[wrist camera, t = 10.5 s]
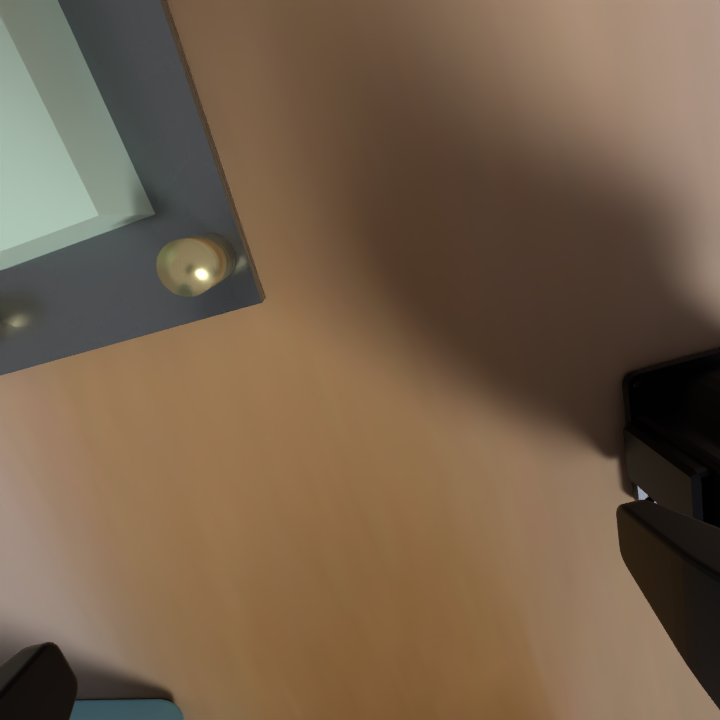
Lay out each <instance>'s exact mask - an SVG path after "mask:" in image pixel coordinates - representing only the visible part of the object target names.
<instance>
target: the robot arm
mask: <svg viewBox="0 0 720 720" xmlns="http://www.w3.org/2000/svg"><path fill="white" fill-rule="evenodd" d="M639 379H640V384H639V385H638V386H637V387H635V388H634V384H635V383H636V381H638V380H639ZM622 387H623V397H624V407H625V417H626V424H625V426H624V428H623V432H624V442H625V452H626V461H627V471H628V477H629V479H630V480H631V481H632V486H633V496H634V500H635V501H633V502H629V503H625V504H621V505H620V506H618V508H617V511H616V517H617V527H618V537H619V546H620V552H621V555H622V558H623V560H624V562H625V564H626V566H627V568H628V570H629V571H630V573H631V575H632V576H633V578H634V579H635V581H636V583H637V584H638V586H639V588H640V589H641V591H642V593H643V594H644V596H645V598H646V599H647V601H648V602H649V604H650V606H651V607H652V609H653V611H654V612H655V614H656V616H657V617H658V619H659V621H660V622H661V624H662V625H663V627H664V629H665V630H666V632H667V634H668V635H669V637H670V639H671V640H672V642H673V644H674V645H675V647H676V648H677V650H678V652H679V653H680V655H681V656H682V658H683V659H684V661H685V663H686V664H687V666H688V667H689V668H690V670H691V671H692V673H693V674H694V676H695V677H696V678H697V680H698V681H699V683H700V684H701V685H702V687H703V688H704V689H705V691H706V692H707V693H708V695H709V696H710V697H711V699H712V700H713V701H714V703H715V704H716V706H717V707H718V708H719V710H720V347H719V348H715V349H711V350H708V351H704V352H700V353H697V354H693V355H689V356H685V357H682V358H678V359H674V360H671V361H667V362H663V363H660V364H656V365H652V366H648V367H645V368H641V369H637V370H634V371H631V372H629V373H628V374H627V375H626V376H625V377H624V379H623V383H622ZM647 496H649V497H648V498H646V497H647ZM645 498H646V499H645ZM77 690H78V683H77V678H76V676H75V674H74V673H73V671H72V669H71V667H70V666H69V664H68V662H67V661H66V659H65V657H64V655H63V654H62V652H61V650H60V649H59V647H58V646H57V645H56V644H54V643H52V642H46V643H42V644H38V645H34V646H30V647H27V648H25V649H23V650H21V651H20V652H18V653H17V654H16V655H15V656H14V657H12V658H11V659H10V660H9V661H7V662H6V663H5V664H4V665H2V666H1V667H0V720H70V716H71V713H72V710H73V706H74V703H75V700H76V696H77Z"/></svg>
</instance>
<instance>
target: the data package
mask: <svg viewBox="0 0 720 720" xmlns="http://www.w3.org/2000/svg"><path fill="white" fill-rule="evenodd" d="M70 720H184V716H183V714H182V712H181V710H180V709H179V708H178V706H176V705H175V704H174V703H172V702H170V701H167V700H163V699H131V700H75V703H74V706H73V710H72V713H71V716H70Z"/></svg>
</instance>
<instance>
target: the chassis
mask: <svg viewBox="0 0 720 720" xmlns="http://www.w3.org/2000/svg"><path fill="white" fill-rule="evenodd" d="M58 2H59V4H60V6H61V9H62V11H63V13H64V15H65V17H66V19H67V22H68V24H69V26H70V28H71V30H72V33H73V35H74V37H75V39H76V41H77V44H78V46H79V48H80V50H81V52H82V55H83V57H84V59H85V61H86V63H87V66H88V68H89V70H90V72H91V74H92V76H93V79H94V81H95V83H96V85H97V87H98V90H99V92H100V94H101V96H102V98H103V101H104V103H105V105H106V107H107V109H108V112H109V114H110V116H111V118H112V120H113V123H114V125H115V127H116V129H117V131H118V133H119V136H120V138H121V140H122V142H123V144H124V147H125V149H126V151H127V153H128V155H129V158H130V160H131V162H132V164H133V166H134V169H135V171H136V173H137V175H138V177H139V180H140V182H141V184H142V186H143V188H144V190H145V193H146V195H147V197H148V199H149V201H150V204H151V206H152V208H153V210H154V212H155V215H152V216H149V217H146V218H144V219H141V220H138V221H135V222H133V223H130V224H127V225H124V226H122V227H119V228H116V229H113V230H111V231H108V232H105V233H102V234H100V235H97V236H94V237H91V238H89V239H86V240H83V241H81V242H78V243H75V244H72V245H70V246H67V247H64V248H61V249H59V250H56V251H53V252H50V253H48V254H45V255H42V256H39V257H37V258H34V259H31V260H28V261H26V262H23V263H20V264H17V265H15V266H12V267H9V268H6V269H4V270H0V375H4V374H7V373H11V372H14V371H18V370H22V369H25V368H29V367H32V366H36V365H39V364H43V363H47V362H50V361H54V360H57V359H61V358H65V357H68V356H72V355H75V354H79V353H83V352H86V351H90V350H93V349H97V348H100V347H104V346H108V345H111V344H115V343H118V342H122V341H126V340H129V339H133V338H136V337H140V336H144V335H147V334H151V333H154V332H158V331H162V330H165V329H169V328H172V327H176V326H179V325H183V324H187V323H190V322H194V321H197V320H201V319H205V318H208V317H212V316H215V315H219V314H223V313H226V312H230V311H233V310H237V309H240V308H244V307H248V306H251V305H255V304H258V303H262V302H263V300H264V299H265V298H266V297H265V294H264V291H263V288H262V285H261V282H260V279H259V276H258V273H257V270H256V267H255V264H254V261H253V258H252V255H251V252H250V249H249V246H248V243H247V240H246V237H245V234H244V231H243V228H242V225H241V222H240V219H239V216H238V213H237V210H236V207H235V204H234V201H233V198H232V195H231V192H230V189H229V186H228V183H227V180H226V177H225V174H224V171H223V168H222V165H221V162H220V159H219V156H218V153H217V150H216V147H215V144H214V141H213V138H212V135H211V132H210V129H209V126H208V123H207V120H206V117H205V114H204V111H203V108H202V105H201V102H200V99H199V96H198V93H197V90H196V87H195V84H194V81H193V78H192V75H191V72H190V69H189V66H188V63H187V60H186V57H185V54H184V51H183V48H182V45H181V42H180V39H179V36H178V33H177V30H176V27H175V24H174V21H173V18H172V15H171V12H170V9H169V6H168V3H167V0H58Z"/></svg>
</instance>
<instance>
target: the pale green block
mask: <svg viewBox="0 0 720 720" xmlns="http://www.w3.org/2000/svg"><path fill="white" fill-rule="evenodd" d="M152 215H155V212H154V210H153V208H152V206H151V204H150V201H149V199H148V197H147V195H146V193H145V190H144V188H143V186H142V184H141V182H140V180H139V177H138V175H137V173H136V171H135V169H134V166H133V164H132V162H131V160H130V158H129V155H128V153H127V151H126V149H125V147H124V144H123V142H122V140H121V138H120V136H119V133H118V131H117V129H116V127H115V125H114V123H113V120H112V118H111V116H110V114H109V112H108V109H107V107H106V105H105V103H104V101H103V98H102V96H101V94H100V92H99V90H98V87H97V85H96V83H95V81H94V79H93V76H92V74H91V72H90V70H89V68H88V66H87V63H86V61H85V59H84V57H83V55H82V52H81V50H80V48H79V46H78V44H77V41H76V39H75V37H74V35H73V33H72V30H71V28H70V26H69V24H68V22H67V19H66V17H65V15H64V13H63V11H62V9H61V6H60V4H59V2H58V0H0V270H4V269H6V268H9V267H12V266H15V265H17V264H20V263H23V262H26V261H28V260H31V259H34V258H37V257H39V256H42V255H45V254H48V253H50V252H53V251H56V250H59V249H61V248H64V247H67V246H70V245H72V244H75V243H78V242H81V241H83V240H86V239H89V238H91V237H94V236H97V235H100V234H102V233H105V232H108V231H111V230H113V229H116V228H119V227H122V226H124V225H127V224H130V223H133V222H135V221H138V220H141V219H144V218H146V217H149V216H152Z"/></svg>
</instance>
